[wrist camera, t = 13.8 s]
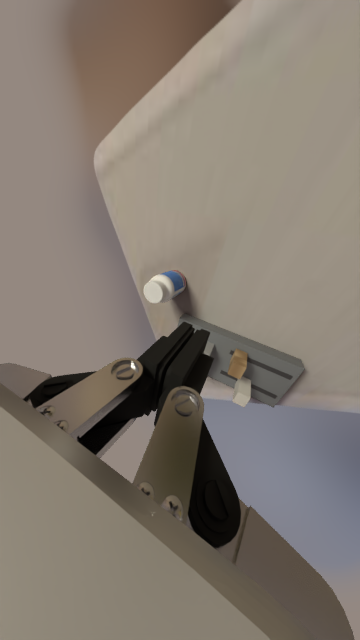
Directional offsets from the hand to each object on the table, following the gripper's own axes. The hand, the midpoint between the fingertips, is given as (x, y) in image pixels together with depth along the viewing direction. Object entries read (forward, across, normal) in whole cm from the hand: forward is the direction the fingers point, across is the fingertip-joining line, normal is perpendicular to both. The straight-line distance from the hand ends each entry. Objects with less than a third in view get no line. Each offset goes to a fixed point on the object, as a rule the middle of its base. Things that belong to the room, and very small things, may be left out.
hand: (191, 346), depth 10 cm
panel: (+26, -4, +18) cm, 32 cm away
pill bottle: (+26, +13, +5) cm, 30 cm away
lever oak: (+23, -6, +15) cm, 28 cm away
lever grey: (+23, -9, +21) cm, 32 cm away
